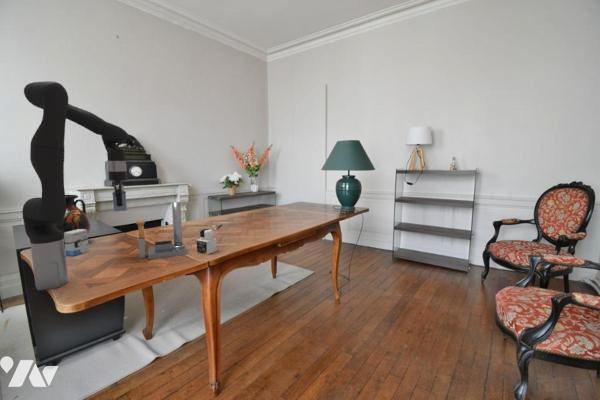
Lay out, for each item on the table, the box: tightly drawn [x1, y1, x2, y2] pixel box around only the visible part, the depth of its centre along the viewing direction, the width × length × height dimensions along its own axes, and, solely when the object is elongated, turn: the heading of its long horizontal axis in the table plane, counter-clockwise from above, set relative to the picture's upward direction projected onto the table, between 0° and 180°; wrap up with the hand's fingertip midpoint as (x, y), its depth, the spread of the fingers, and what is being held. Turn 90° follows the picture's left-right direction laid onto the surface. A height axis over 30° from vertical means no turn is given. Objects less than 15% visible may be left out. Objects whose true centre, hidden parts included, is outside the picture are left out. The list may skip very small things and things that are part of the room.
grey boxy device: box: [196, 228, 218, 256], centre depth 144 cm, size 7×7×12 cm
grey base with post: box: [138, 201, 187, 260], centre depth 141 cm, size 14×21×26 cm
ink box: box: [64, 229, 90, 257], centre depth 141 cm, size 8×5×12 cm, turn 168°
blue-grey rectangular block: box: [112, 190, 128, 212], centre depth 135 cm, size 5×5×9 cm
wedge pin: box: [136, 220, 146, 241], centre depth 137 cm, size 4×4×11 cm
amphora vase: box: [53, 194, 91, 246], centre depth 154 cm, size 22×22×28 cm
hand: (120, 205), depth 136 cm, fingers closed on blue-grey rectangular block, 5 cm apart
